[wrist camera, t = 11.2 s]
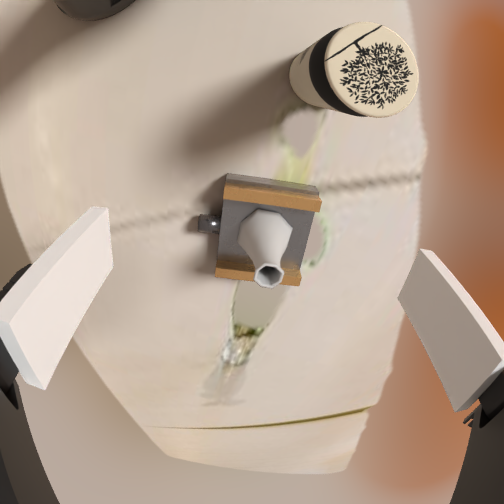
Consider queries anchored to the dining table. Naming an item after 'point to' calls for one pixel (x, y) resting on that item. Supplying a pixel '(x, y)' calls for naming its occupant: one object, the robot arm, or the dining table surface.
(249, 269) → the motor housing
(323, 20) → the dining table surface
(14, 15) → the dining table surface
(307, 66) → the travel mug
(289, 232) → the flask
